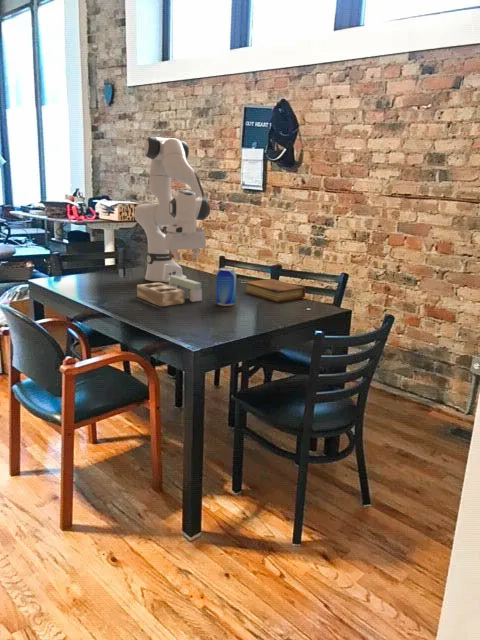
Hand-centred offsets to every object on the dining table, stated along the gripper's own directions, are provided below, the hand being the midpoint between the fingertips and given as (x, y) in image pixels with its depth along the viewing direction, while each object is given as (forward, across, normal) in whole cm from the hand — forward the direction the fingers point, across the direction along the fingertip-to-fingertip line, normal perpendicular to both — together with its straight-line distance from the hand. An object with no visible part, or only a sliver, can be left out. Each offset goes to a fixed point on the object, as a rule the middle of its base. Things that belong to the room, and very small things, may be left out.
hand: (185, 259), depth 237 cm
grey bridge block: (+17, 0, 0) cm, 17 cm away
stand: (+18, 0, 0) cm, 18 cm away
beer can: (+18, -8, +20) cm, 28 cm away
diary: (+18, -42, +16) cm, 48 cm away
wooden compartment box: (+18, +13, 0) cm, 22 cm away
